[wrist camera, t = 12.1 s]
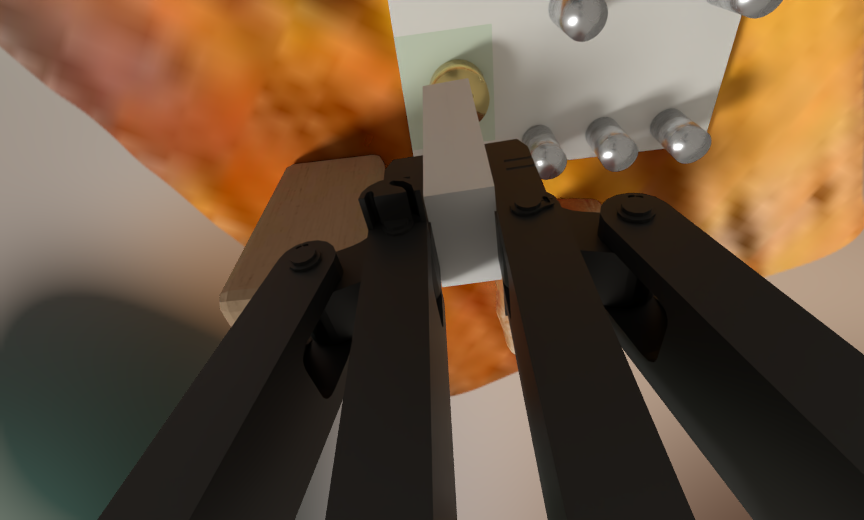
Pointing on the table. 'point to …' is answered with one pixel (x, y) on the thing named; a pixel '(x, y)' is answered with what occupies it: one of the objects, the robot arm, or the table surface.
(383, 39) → the table surface
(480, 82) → the brass round knob
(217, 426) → the robot arm
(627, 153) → the spacers
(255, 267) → the wooden block
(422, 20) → the board
